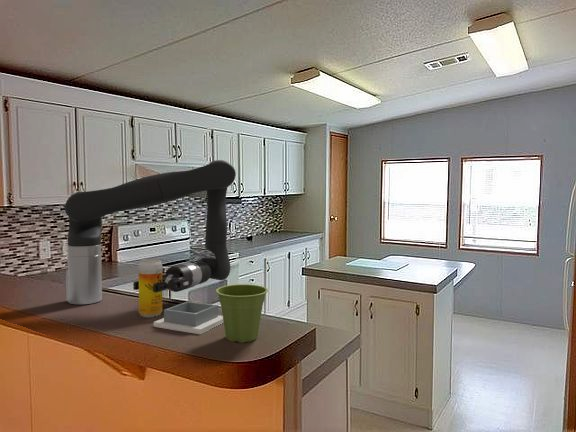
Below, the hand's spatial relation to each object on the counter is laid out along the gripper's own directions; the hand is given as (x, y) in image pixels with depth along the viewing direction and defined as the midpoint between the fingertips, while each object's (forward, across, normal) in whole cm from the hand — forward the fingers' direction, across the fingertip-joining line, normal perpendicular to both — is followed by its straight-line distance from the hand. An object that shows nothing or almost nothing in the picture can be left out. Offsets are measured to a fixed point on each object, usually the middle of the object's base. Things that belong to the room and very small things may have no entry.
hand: (144, 287), depth 117 cm
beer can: (-2, 0, +8) cm, 9 cm away
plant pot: (+4, +32, +8) cm, 33 cm away
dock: (0, +15, +8) cm, 17 cm away
